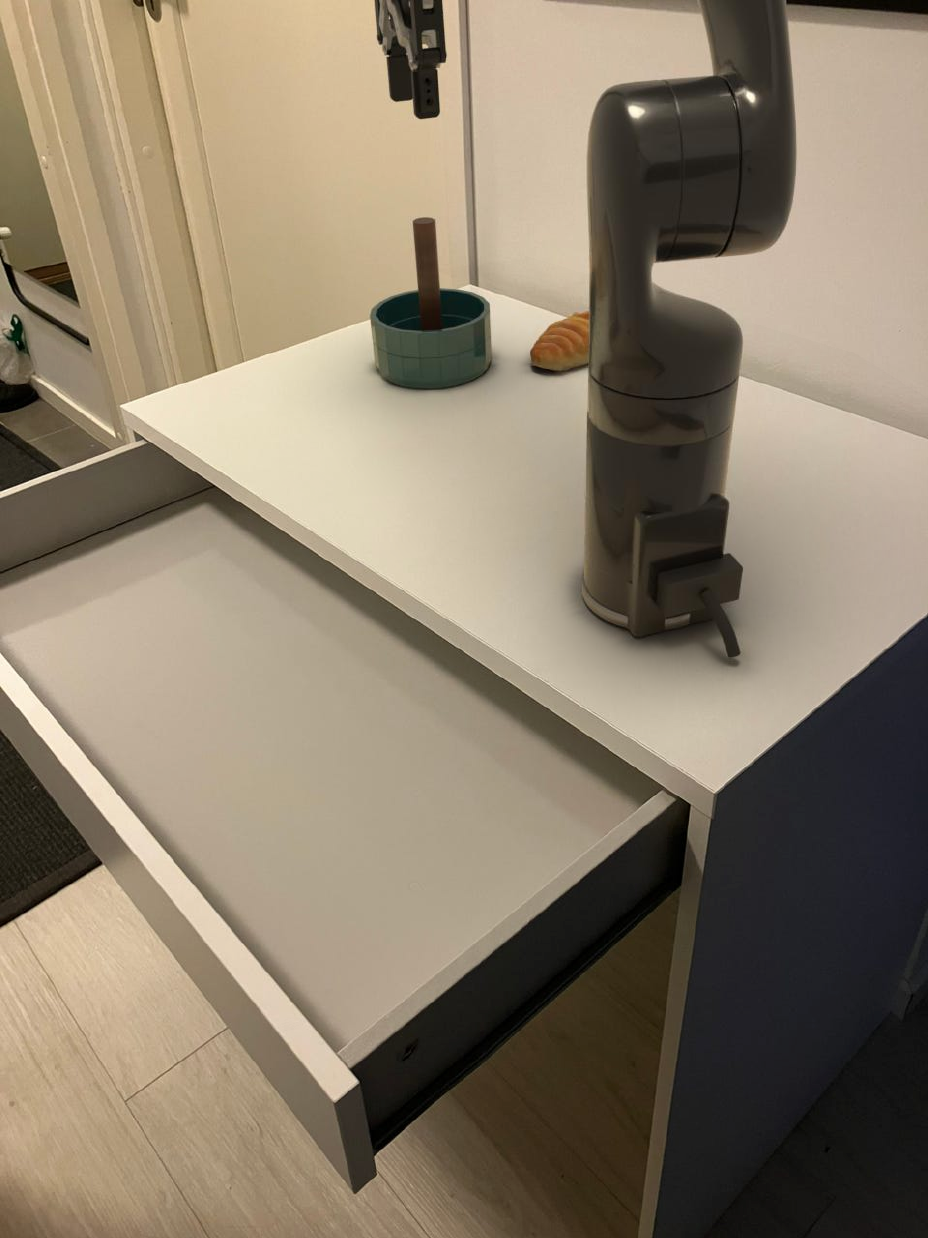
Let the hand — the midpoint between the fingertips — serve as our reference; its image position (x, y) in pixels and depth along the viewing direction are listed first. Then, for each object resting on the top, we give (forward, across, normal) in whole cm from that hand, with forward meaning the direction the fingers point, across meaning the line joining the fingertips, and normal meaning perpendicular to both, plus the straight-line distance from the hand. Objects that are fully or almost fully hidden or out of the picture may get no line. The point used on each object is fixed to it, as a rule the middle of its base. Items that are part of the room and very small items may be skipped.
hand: (414, 108), depth 92 cm
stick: (+24, 0, 0) cm, 24 cm away
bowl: (+25, 0, 0) cm, 25 cm away
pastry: (+25, +4, +14) cm, 29 cm away
